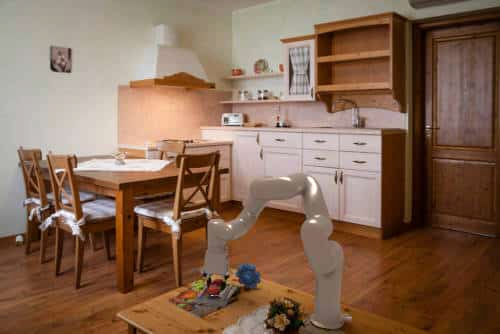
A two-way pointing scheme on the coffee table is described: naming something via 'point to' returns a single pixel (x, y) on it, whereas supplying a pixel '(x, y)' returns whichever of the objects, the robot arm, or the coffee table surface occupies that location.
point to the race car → (215, 287)
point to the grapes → (248, 275)
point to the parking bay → (213, 297)
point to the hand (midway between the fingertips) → (216, 288)
